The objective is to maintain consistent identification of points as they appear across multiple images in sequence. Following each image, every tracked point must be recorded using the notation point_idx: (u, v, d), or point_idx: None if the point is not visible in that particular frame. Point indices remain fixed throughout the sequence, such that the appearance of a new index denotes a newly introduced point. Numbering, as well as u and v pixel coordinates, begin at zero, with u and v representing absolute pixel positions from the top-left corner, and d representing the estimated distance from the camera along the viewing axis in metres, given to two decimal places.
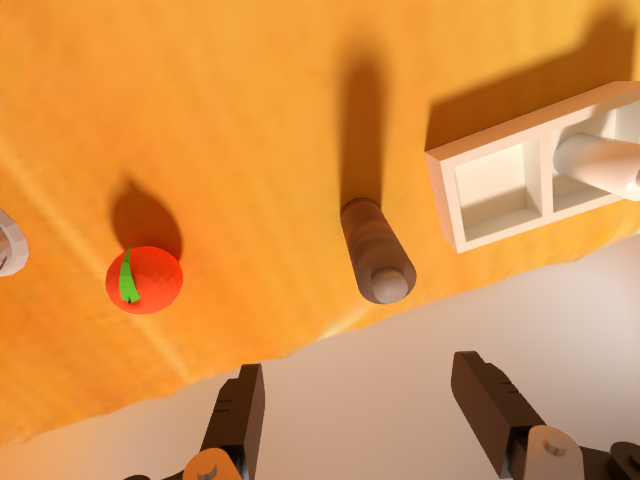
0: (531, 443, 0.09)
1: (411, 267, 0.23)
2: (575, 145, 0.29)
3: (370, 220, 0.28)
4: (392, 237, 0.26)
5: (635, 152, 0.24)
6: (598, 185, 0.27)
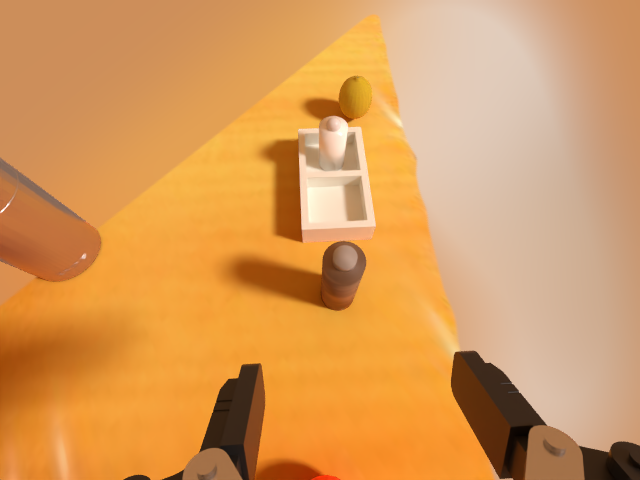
0: (531, 443, 0.09)
1: (338, 243, 0.33)
2: (321, 160, 0.49)
3: None
4: None
5: (319, 133, 0.44)
6: (339, 147, 0.45)
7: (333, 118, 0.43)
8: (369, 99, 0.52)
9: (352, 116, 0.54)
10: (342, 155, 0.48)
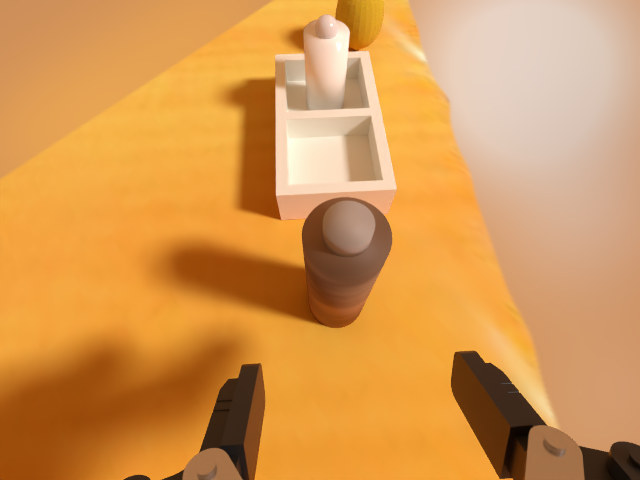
0: (531, 443, 0.09)
1: (334, 201, 0.16)
2: (309, 97, 0.32)
3: None
4: None
5: (304, 44, 0.28)
6: (337, 70, 0.29)
7: (325, 15, 0.27)
8: (380, 13, 0.35)
9: (355, 42, 0.37)
10: (341, 86, 0.31)
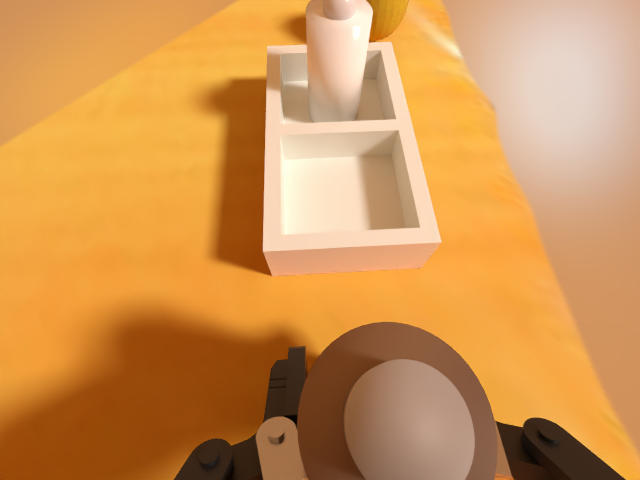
0: None
1: (366, 332, 0.08)
2: (313, 104, 0.24)
3: None
4: None
5: (307, 28, 0.19)
6: (353, 66, 0.20)
7: None
8: None
9: (372, 31, 0.29)
10: (357, 89, 0.23)
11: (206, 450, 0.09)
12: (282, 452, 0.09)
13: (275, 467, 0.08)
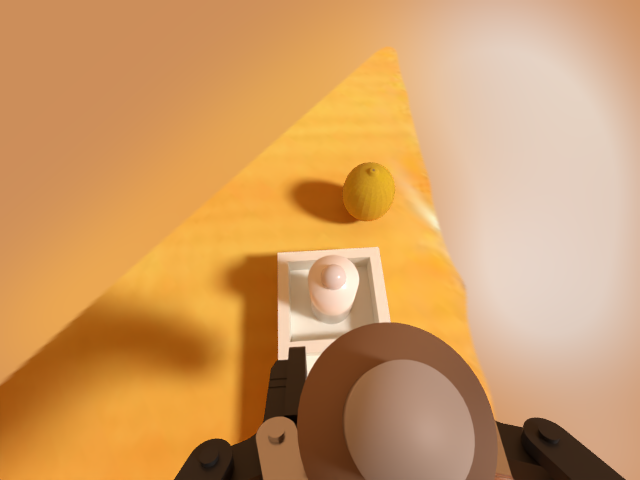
0: None
1: (366, 332, 0.08)
2: (315, 312, 0.29)
3: None
4: None
5: (309, 289, 0.25)
6: (346, 307, 0.26)
7: (332, 270, 0.24)
8: (391, 199, 0.33)
9: (363, 220, 0.35)
10: (350, 307, 0.28)
11: (206, 450, 0.09)
12: (282, 452, 0.09)
13: (275, 467, 0.08)
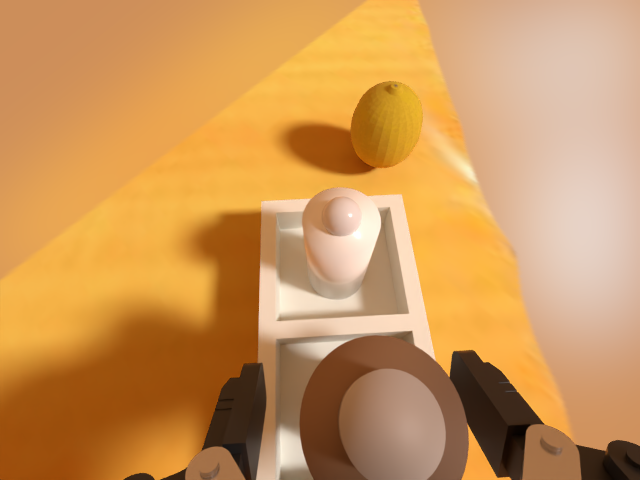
0: (528, 442, 0.09)
1: (358, 344, 0.09)
2: (314, 281, 0.21)
3: None
4: None
5: (305, 238, 0.16)
6: (359, 267, 0.18)
7: (340, 202, 0.15)
8: (418, 132, 0.24)
9: (379, 165, 0.26)
10: (364, 272, 0.20)
11: None
12: None
13: None
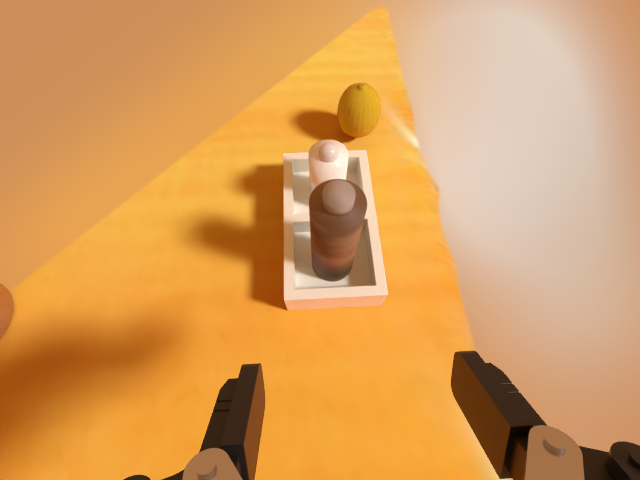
0: (531, 443, 0.09)
1: (330, 181, 0.25)
2: None
3: None
4: None
5: (310, 165, 0.32)
6: None
7: (328, 144, 0.31)
8: (377, 113, 0.40)
9: (355, 135, 0.42)
10: None
11: None
12: None
13: None
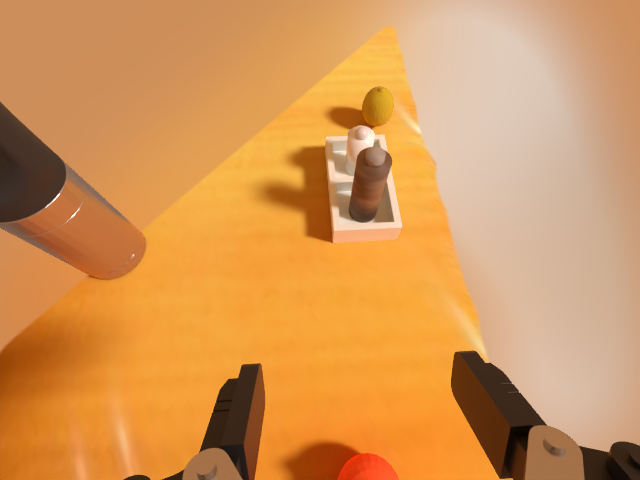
0: (531, 443, 0.09)
1: (369, 148, 0.41)
2: (349, 167, 0.52)
3: (352, 186, 0.46)
4: None
5: (349, 142, 0.48)
6: None
7: (361, 128, 0.47)
8: (391, 108, 0.55)
9: (375, 124, 0.57)
10: None
11: None
12: None
13: None
